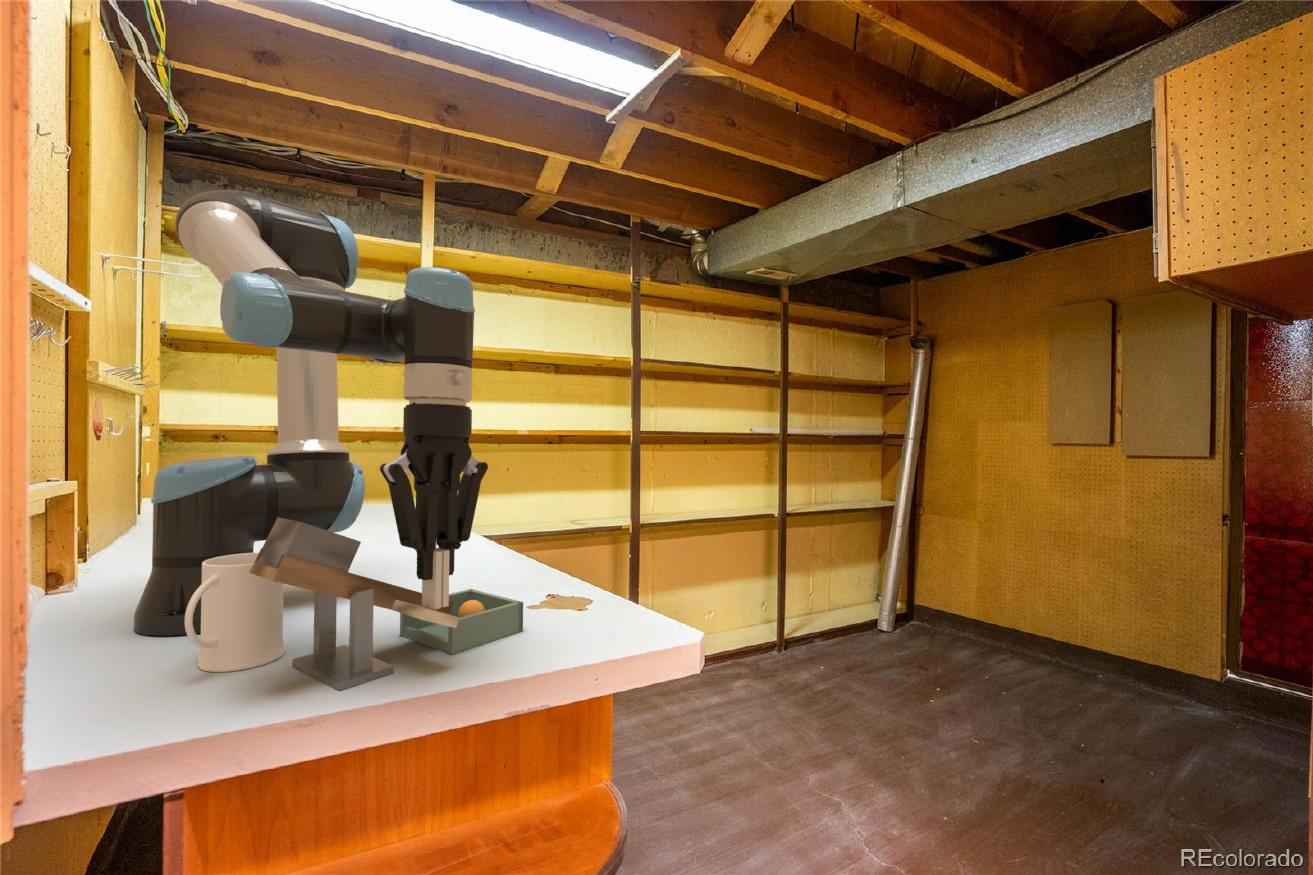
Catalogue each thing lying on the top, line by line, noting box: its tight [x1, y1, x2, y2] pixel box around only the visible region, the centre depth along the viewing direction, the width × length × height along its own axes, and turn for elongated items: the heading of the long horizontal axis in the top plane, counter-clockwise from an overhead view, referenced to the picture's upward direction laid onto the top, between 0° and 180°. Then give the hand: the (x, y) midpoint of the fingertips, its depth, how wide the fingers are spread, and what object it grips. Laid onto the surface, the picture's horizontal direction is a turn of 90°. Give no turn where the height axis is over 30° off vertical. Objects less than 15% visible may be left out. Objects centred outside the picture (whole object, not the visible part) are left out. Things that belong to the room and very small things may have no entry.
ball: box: [458, 600, 485, 618], centre depth 82 cm, size 4×4×4 cm
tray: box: [399, 588, 524, 655], centre depth 80 cm, size 12×11×4 cm
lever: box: [249, 517, 459, 628], centre depth 68 cm, size 13×22×6 cm, turn 144°
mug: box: [185, 552, 286, 673], centre depth 69 cm, size 12×8×12 cm
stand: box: [291, 587, 394, 692], centre depth 67 cm, size 11×6×10 cm, turn 54°
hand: (435, 605), depth 68 cm, fingers closed
